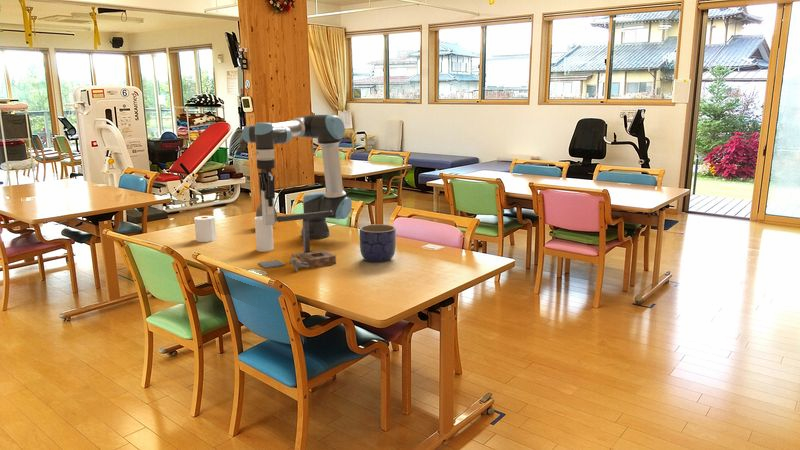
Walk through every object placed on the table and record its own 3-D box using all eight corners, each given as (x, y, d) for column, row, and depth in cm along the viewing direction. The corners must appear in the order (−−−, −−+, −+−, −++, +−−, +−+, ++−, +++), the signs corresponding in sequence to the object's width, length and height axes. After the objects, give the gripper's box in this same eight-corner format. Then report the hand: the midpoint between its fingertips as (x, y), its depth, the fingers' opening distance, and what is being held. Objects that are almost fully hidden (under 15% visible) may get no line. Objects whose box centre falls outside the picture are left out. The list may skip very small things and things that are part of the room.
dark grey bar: (275, 223, 256) (275, 215, 255) (331, 217, 270) (331, 209, 269) (277, 224, 253) (277, 216, 253) (334, 218, 267) (334, 210, 266)
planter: (368, 266, 249) (368, 233, 246) (354, 257, 263) (353, 226, 260) (402, 261, 256) (402, 229, 253) (386, 253, 271) (385, 222, 267)
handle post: (311, 253, 271) (309, 218, 267) (318, 257, 264) (317, 221, 260) (295, 255, 266) (294, 220, 263) (302, 259, 260) (301, 223, 256)
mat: (277, 260, 258) (277, 259, 258) (284, 265, 251) (284, 264, 250) (258, 264, 253) (257, 262, 253) (265, 268, 246) (265, 267, 246)
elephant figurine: (313, 270, 244) (296, 267, 237) (305, 278, 246) (288, 275, 240) (308, 252, 249) (291, 248, 243) (300, 260, 252) (283, 257, 246)
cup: (269, 252, 273) (267, 219, 269) (253, 251, 275) (251, 219, 271) (276, 247, 281) (274, 216, 277) (260, 247, 282) (259, 215, 279)
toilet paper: (191, 241, 294) (189, 218, 291) (205, 236, 303) (203, 214, 301) (207, 243, 290) (205, 220, 288) (220, 238, 300) (218, 216, 297)
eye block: (324, 257, 264) (323, 250, 263) (335, 263, 254) (335, 255, 253) (300, 261, 257) (299, 253, 256) (311, 267, 247) (310, 260, 247)
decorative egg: (275, 229, 319) (273, 203, 316) (254, 229, 319) (252, 203, 316) (279, 225, 330) (278, 200, 327) (259, 225, 331) (258, 200, 327)
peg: (271, 222, 250) (269, 189, 247) (274, 224, 247) (273, 190, 244) (262, 224, 248) (261, 190, 245) (266, 225, 245) (264, 191, 242)
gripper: (250, 158, 247) (253, 210, 252) (264, 161, 233) (266, 217, 238) (266, 157, 251) (269, 208, 256) (281, 160, 237) (283, 215, 242)
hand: (268, 212), depth 247 cm, fingers closed on peg, 4 cm apart
